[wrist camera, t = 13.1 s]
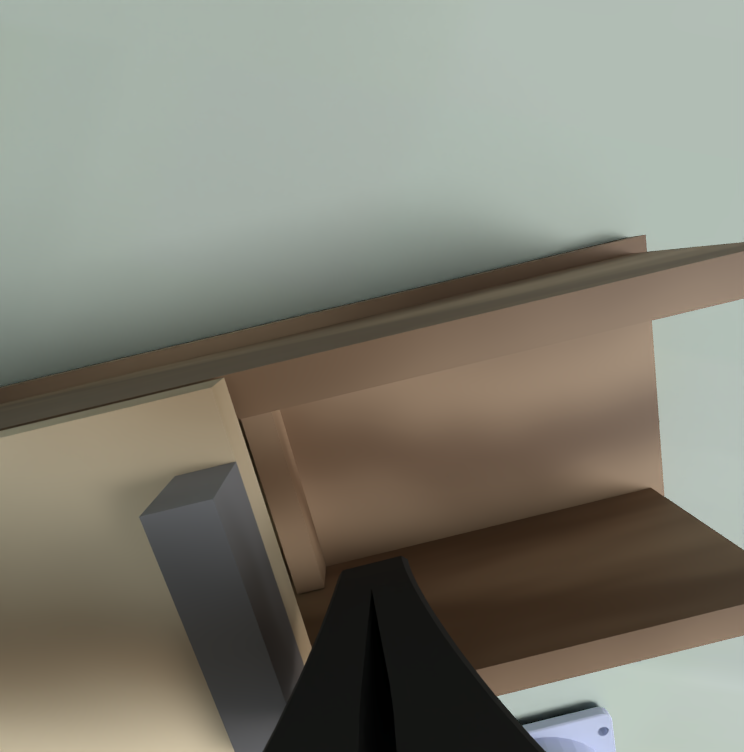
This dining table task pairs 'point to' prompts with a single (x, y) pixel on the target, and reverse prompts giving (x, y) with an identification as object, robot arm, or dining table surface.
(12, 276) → the dining table surface
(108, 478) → the lid
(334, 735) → the robot arm
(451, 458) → the brown wooden box
